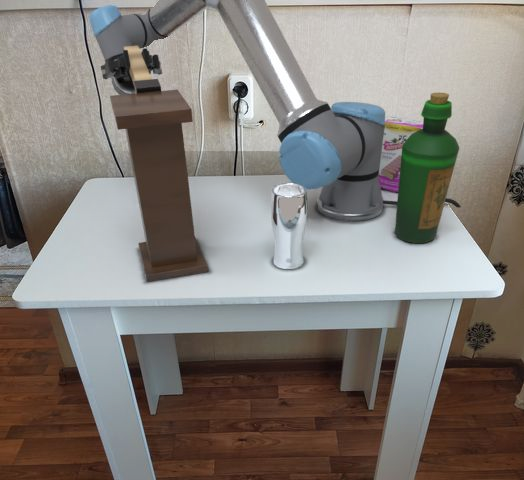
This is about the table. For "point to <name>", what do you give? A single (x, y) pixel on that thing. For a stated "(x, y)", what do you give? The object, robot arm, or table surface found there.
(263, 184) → the table surface
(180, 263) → the wooden pedestal stand
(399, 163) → the candy bar box
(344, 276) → the table surface
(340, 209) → the robot arm
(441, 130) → the bottle
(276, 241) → the beer glass
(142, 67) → the long wooden bar
